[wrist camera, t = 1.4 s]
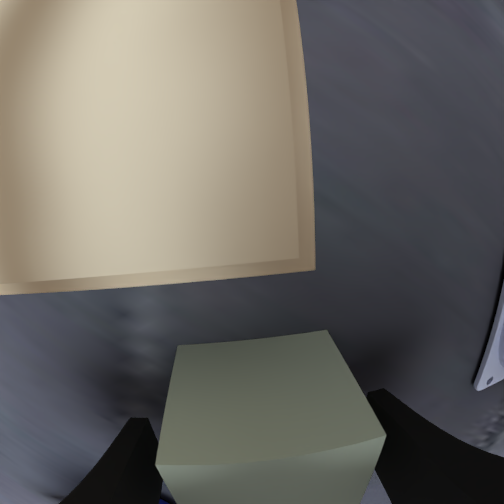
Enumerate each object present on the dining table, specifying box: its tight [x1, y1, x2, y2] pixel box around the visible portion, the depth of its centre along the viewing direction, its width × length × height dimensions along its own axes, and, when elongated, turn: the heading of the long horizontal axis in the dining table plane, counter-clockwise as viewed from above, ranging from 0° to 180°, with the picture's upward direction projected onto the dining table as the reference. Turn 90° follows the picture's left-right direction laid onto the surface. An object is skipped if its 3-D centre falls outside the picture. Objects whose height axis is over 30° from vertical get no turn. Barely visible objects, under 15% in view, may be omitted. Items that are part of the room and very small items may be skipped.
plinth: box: [0, 0, 315, 295], centre depth 6 cm, size 13×13×2 cm
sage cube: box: [155, 330, 386, 504], centre depth 8 cm, size 5×5×5 cm
